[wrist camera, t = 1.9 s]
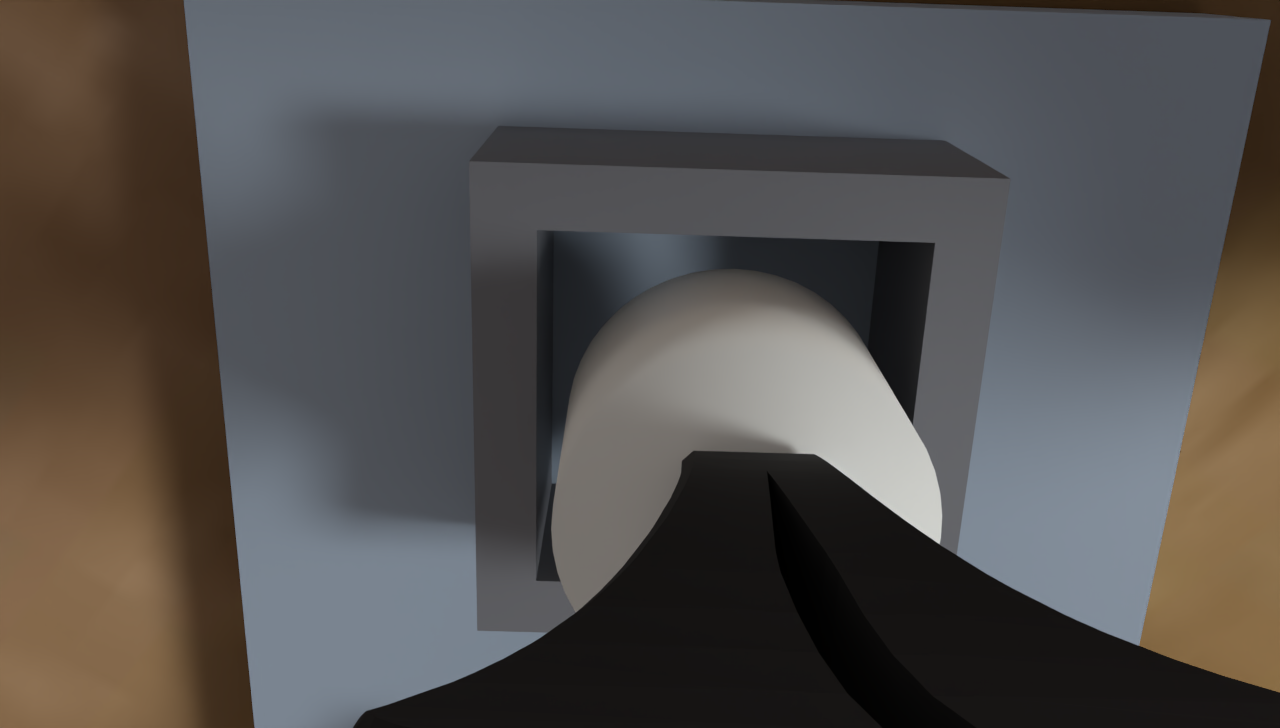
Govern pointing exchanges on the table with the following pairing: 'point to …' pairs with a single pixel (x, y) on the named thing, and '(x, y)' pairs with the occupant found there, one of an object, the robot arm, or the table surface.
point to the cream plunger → (721, 411)
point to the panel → (675, 246)
